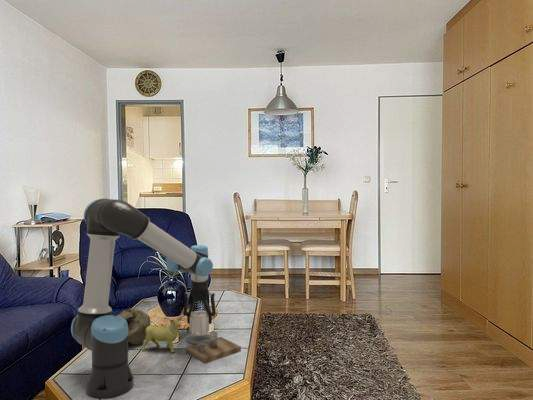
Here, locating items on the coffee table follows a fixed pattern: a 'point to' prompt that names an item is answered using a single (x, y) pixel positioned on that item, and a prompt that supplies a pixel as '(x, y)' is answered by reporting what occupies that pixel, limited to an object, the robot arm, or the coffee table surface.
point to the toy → (162, 334)
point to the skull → (136, 324)
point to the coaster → (198, 339)
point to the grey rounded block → (199, 323)
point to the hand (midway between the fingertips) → (199, 330)
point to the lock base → (213, 349)
